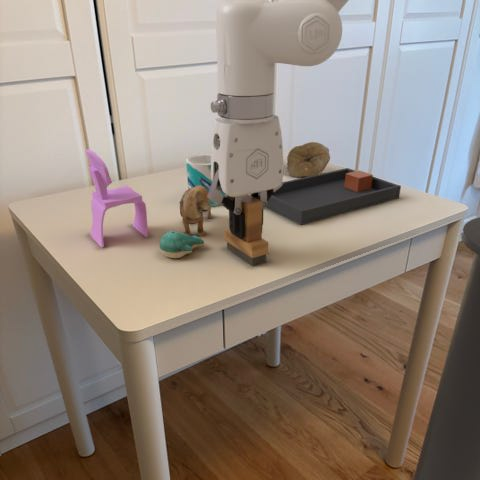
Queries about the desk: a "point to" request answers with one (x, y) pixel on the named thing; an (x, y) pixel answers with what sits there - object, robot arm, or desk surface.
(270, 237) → the desk surface
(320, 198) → the tray
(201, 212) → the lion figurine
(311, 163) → the fossil
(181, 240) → the whale figurine
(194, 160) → the mug
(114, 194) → the toy chair
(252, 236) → the brush
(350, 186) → the reddish brown block
